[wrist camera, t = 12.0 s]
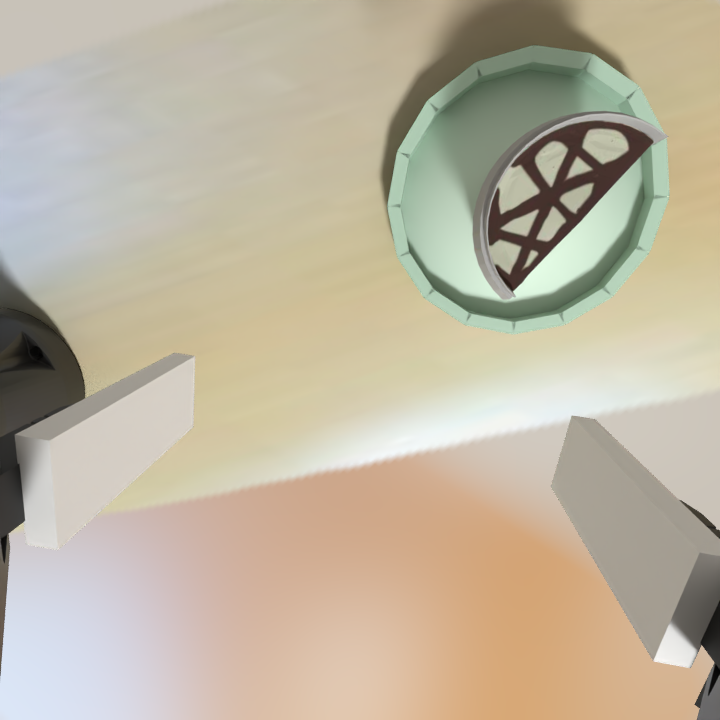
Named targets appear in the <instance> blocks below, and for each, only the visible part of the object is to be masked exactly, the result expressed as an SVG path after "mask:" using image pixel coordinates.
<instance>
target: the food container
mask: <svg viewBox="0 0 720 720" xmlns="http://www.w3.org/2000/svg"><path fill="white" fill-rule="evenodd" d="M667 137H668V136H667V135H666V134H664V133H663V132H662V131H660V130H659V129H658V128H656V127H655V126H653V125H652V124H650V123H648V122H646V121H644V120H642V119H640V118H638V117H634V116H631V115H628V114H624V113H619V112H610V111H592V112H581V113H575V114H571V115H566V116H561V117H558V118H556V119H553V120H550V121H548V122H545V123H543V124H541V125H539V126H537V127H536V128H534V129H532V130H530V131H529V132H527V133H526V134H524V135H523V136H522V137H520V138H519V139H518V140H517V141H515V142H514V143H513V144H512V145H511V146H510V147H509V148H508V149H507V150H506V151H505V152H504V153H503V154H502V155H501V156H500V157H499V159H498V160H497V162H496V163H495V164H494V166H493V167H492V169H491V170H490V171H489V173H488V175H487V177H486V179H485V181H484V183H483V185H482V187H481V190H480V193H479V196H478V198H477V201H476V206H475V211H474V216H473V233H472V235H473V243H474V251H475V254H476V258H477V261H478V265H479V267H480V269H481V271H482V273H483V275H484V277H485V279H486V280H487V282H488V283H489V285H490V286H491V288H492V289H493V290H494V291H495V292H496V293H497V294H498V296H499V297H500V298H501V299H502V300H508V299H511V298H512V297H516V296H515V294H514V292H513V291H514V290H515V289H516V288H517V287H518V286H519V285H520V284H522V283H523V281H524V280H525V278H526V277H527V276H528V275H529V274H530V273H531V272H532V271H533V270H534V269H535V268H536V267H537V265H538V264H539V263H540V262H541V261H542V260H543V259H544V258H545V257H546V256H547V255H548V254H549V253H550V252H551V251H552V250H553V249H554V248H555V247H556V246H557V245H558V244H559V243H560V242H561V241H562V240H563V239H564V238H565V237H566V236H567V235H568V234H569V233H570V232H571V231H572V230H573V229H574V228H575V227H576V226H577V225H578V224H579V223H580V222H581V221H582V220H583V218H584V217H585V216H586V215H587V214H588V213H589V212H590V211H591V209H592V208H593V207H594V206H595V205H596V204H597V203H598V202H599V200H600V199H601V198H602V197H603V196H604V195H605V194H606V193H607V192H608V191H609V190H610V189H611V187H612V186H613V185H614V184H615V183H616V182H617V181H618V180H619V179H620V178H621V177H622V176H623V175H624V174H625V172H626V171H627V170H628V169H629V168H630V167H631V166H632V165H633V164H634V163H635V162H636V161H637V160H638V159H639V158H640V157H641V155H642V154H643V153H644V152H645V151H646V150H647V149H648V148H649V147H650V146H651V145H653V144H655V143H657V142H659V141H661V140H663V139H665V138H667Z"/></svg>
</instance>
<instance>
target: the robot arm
mask: <svg viewBox="0 0 720 720" xmlns="http://www.w3.org/2000/svg"><path fill="white" fill-rule="evenodd" d="M194 380H195V356H191V355H185V354H179V353H173V354H171V355H169V356H167V357H165V358H163V359H161V360H159V361H157V362H155V363H153V364H151V365H149V366H148V367H146V368H144V369H142V370H140V371H138V372H136V373H134V374H132V375H130V376H128V377H126V378H124V379H122V380H120V381H118V382H116V383H114V384H112V385H110V386H109V387H107V388H105V389H103V390H101V391H99V392H97V393H95V394H93V395H91V396H89V397H87V398H85V394H84V384H83V379H82V375H81V372H80V369H79V367H78V364H77V362H76V360H75V358H74V356H73V355H72V353H71V351H70V350H69V348H68V347H67V346H66V344H65V343H64V342H63V341H62V339H61V338H60V337H59V336H58V335H57V334H56V333H55V332H54V331H53V330H52V329H50V328H49V327H48V326H47V325H45V324H44V323H42V322H41V321H39V320H38V319H36V318H34V317H32V316H30V315H28V314H25V313H23V312H20V311H16V310H12V309H4V308H0V674H1V659H2V647H3V646H2V645H3V633H4V620H5V606H6V593H7V580H8V566H9V552H10V543H9V534H8V533H10V532H11V531H12V530H14V529H15V528H16V527H18V526H19V525H20V524H22V523H23V522H24V531H25V540H26V544H27V545H32V546H38V547H43V548H48V549H53V550H59V549H60V548H61V547H62V546H63V545H64V544H65V543H67V542H68V541H69V540H70V539H71V538H72V537H73V536H74V535H75V534H76V533H78V532H79V531H80V530H81V529H82V528H83V527H84V526H85V525H86V524H87V523H89V522H90V521H91V520H92V519H93V518H94V517H95V516H96V515H97V514H98V513H99V512H101V511H102V510H103V509H104V508H105V507H106V506H107V505H108V504H109V503H110V502H112V501H113V500H114V499H115V498H116V497H117V496H118V495H119V494H120V493H121V492H122V491H124V490H125V489H126V488H127V487H128V486H129V485H130V484H131V483H132V482H133V481H135V480H136V479H137V478H138V477H139V476H140V475H141V474H142V473H143V472H144V471H145V470H147V469H148V468H149V467H150V466H151V465H152V464H153V463H154V462H155V461H156V460H158V459H159V458H160V457H161V456H162V455H163V454H164V453H165V452H166V451H167V450H169V449H170V448H171V447H172V446H173V445H174V444H175V443H176V442H177V441H178V440H179V439H181V438H182V437H183V436H184V435H185V434H186V433H187V432H188V431H189V430H190V429H192V428H193V419H194ZM84 398H85V399H84ZM551 487H552V489H553V491H554V493H555V494H556V496H557V498H558V500H559V501H560V503H561V505H562V506H563V508H564V510H565V512H566V513H567V515H568V516H569V518H570V520H571V522H572V523H573V525H574V527H575V529H576V530H577V532H578V534H579V535H580V537H581V539H582V540H583V542H584V544H585V545H586V547H587V549H588V551H589V552H590V554H591V556H592V557H593V559H594V561H595V563H596V564H597V566H598V568H599V569H600V571H601V573H602V574H603V576H604V578H605V580H606V581H607V583H608V585H609V587H610V588H611V590H612V592H613V593H614V595H615V597H616V599H617V600H618V601H619V604H620V605H621V607H622V609H623V610H624V612H625V614H626V616H627V617H628V619H629V621H630V622H631V624H632V625H633V628H634V629H635V631H636V633H637V634H638V636H639V638H640V639H641V641H642V643H643V644H644V646H645V648H646V650H647V651H648V653H649V655H650V656H651V658H652V660H653V661H656V662H660V663H666V664H671V665H677V666H682V667H688V668H691V667H692V664H693V662H694V660H695V658H696V656H697V654H698V652H699V649H700V647H701V645H702V646H703V647H704V648H705V650H706V651H707V653H708V654H709V655H710V657H711V658H712V659H713V661H714V662H715V663H714V665H713V667H712V669H711V672H710V674H709V676H708V678H707V680H706V682H705V684H704V686H703V688H702V690H701V692H700V694H699V696H698V699H697V701H696V703H695V705H696V706H697V707H699V708H700V710H699V714H698V718H697V720H720V530H717V529H716V527H715V526H714V525H713V524H712V523H711V522H710V521H709V520H708V519H707V518H706V517H705V516H704V515H702V514H701V513H700V512H698V511H697V510H695V509H693V508H692V507H690V506H689V505H687V504H686V503H684V502H683V501H681V500H678V499H677V498H676V497H675V496H674V495H673V494H672V493H671V492H670V491H669V490H668V489H667V488H666V487H665V486H664V485H663V484H662V483H661V482H660V481H659V480H658V479H657V478H656V477H654V476H653V475H652V474H651V473H650V472H649V471H648V470H647V469H646V468H645V467H644V466H643V465H642V464H641V463H640V462H639V461H638V460H637V459H636V458H635V457H634V456H633V455H632V454H631V453H630V452H629V451H627V450H626V449H625V448H624V447H623V446H622V445H621V444H620V443H619V442H618V441H617V440H616V439H615V438H614V437H613V436H612V435H611V434H610V433H609V432H608V431H607V430H606V429H605V428H604V427H602V426H601V425H600V424H599V423H598V422H597V421H596V420H595V419H590V418H584V417H578V416H572V417H571V420H570V424H569V427H568V431H567V434H566V437H565V440H564V444H563V447H562V451H561V454H560V457H559V461H558V464H557V468H556V471H555V474H554V478H553V481H552V485H551Z"/></svg>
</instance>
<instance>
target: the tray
mask: <svg viewBox="0 0 720 720" xmlns="http://www.w3.org/2000/svg"><path fill="white" fill-rule="evenodd" d="M638 87H639V86H638V85H637V84H635V83H634V82H633V81H631V80H630V79H628V78H627V77H625V76H624V75H623V74H621V73H620V72H618V71H617V70H616V69H614V68H613V67H611V66H610V65H608V64H607V63H606V62H604V61H603V60H601V59H600V58H598V57H597V56H596V55H594V54H592V53H587V52H580V51H573V50H566V49H559V48H552V47H545V46H538V45H534V46H533V45H532V46H528V47H525V48H522V49H518V50H515V51H511V52H508V53H505V54H501V55H498V56H494V57H491V58H488V59H484V60H481V61H477V62H476V63H474V64H472V65H471V66H470V67H469V68H467V69H466V70H465V71H464V72H462V73H461V74H460V75H459V76H457V77H456V78H455V79H454V80H452V81H451V82H450V83H448V84H447V85H446V86H445V87H443V88H442V89H441V90H440V91H438V92H437V93H436V94H435V95H433V96H432V97H431V98H430V99H428V101H427V102H426V104H425V105H424V107H423V109H422V110H421V112H420V114H419V115H418V117H417V119H416V120H415V122H414V124H413V125H412V127H411V129H410V130H409V132H408V134H407V135H406V137H405V139H404V141H403V142H402V144H401V146H400V147H399V149H398V152H397V155H396V160H395V166H394V171H393V177H392V182H391V188H390V193H389V199H388V205H387V206H388V207H387V208H388V213H389V218H390V223H391V228H392V233H393V238H394V244H395V249H396V254H397V257H398V259H399V261H400V262H401V264H402V265H403V267H404V268H405V270H406V271H407V273H408V274H409V276H410V277H411V279H412V280H413V282H414V283H415V285H416V286H417V288H418V289H419V291H420V293H421V294H422V296H423V297H424V298H425V299H426V300H428V301H429V302H431V303H432V304H434V305H435V306H437V307H438V308H440V309H441V310H443V311H444V312H446V313H447V314H449V315H450V316H452V317H453V318H455V319H456V320H458V321H459V322H461V323H462V324H464V325H467V326H472V327H477V328H483V329H488V330H493V331H498V332H503V333H508V334H519V333H524V332H529V331H535V330H540V329H546V328H551V327H557V326H562V325H564V324H565V325H566V324H567V323H569V322H571V321H572V320H574V319H576V318H578V317H579V316H581V315H583V314H584V313H586V312H588V311H590V310H591V309H593V308H595V307H596V306H598V305H600V304H601V303H603V302H605V301H607V300H608V299H610V298H612V296H614V295H615V293H616V292H617V291H618V290H619V289H620V287H621V286H622V285H623V284H624V283H625V281H626V280H627V279H628V278H629V277H630V275H631V274H632V273H633V272H634V271H635V269H636V268H637V267H638V266H639V265H640V263H641V262H642V261H643V260H644V259H645V257H646V256H647V255H648V254H649V252H650V250H651V247H652V245H653V242H654V239H655V236H656V233H657V231H658V228H659V225H660V222H661V219H662V216H663V214H664V211H665V208H666V205H667V202H668V200H669V197H668V196H669V175H668V154H667V138H666V139H663V140H661V141H659V142H657V143H655V144H653V145H651V146H650V147H649V148H648V149H647V150H646V151H645V152H644V153H643V154H642V155H641V157H640V158H639V159H638V160H637V161H636V162H635V163H634V164H633V165H632V166H631V167H630V168H629V169H628V170H627V171H626V172H625V174H624V175H623V176H622V177H621V178H620V179H619V180H618V181H617V182H616V183H615V184H614V185H613V186H612V187H611V189H610V190H609V191H608V192H607V193H606V194H605V195H604V196H603V197H602V198H601V199H600V200H599V202H598V203H597V204H596V205H595V206H594V207H593V208H592V209H591V211H590V212H589V213H588V214H587V215H586V216H585V217H584V218H583V220H582V221H581V222H580V223H579V224H578V225H577V226H576V227H575V228H574V229H573V230H572V231H571V232H570V233H569V234H568V235H567V236H566V237H565V238H564V239H563V240H562V241H561V242H560V243H559V244H558V245H557V246H556V247H555V248H554V249H553V250H552V251H551V252H550V253H549V254H548V255H547V256H546V257H545V258H544V259H543V260H542V261H541V262H540V263H539V264H538V265H537V267H536V268H535V269H534V270H533V271H532V272H531V273H530V274H529V275H528V276H527V277H526V278H525V280H524V281H523V283H522V284H520V285H519V286H518V287H517V288H516V289H515V290H514V291H513V292H514V294H515V296H516V297H512V298H511V299H508V300H502V299H501V298H500V297H499V296H498V294H497V293H496V292H495V291H494V290H493V289H492V288H491V286H490V285H489V283H488V282H487V280H486V279H485V277H484V275H483V273H482V271H481V269H480V267H479V265H478V261H477V258H476V254H475V251H474V243H473V235H472V233H473V216H474V211H475V206H476V201H477V198H478V196H479V193H480V190H481V187H482V185H483V183H484V181H485V179H486V177H487V175H488V173H489V171H490V170H491V169H492V167H493V166H494V164H495V163H496V162H497V160H498V159H499V157H500V156H501V155H502V154H503V153H504V152H505V151H506V150H507V149H508V148H509V147H510V146H511V145H512V144H513V143H514V142H515V141H517V140H518V139H519V138H520V137H522V136H523V135H524V134H526V133H527V132H529V131H530V130H532V129H534V128H536V127H537V126H539V125H541V124H543V123H545V122H548V121H550V120H553V119H556V118H558V117H561V116H566V115H571V114H575V113H581V112H592V111H610V112H619V113H624V114H628V115H631V116H634V117H638V118H640V119H642V120H644V121H646V122H648V123H650V124H652V125H653V126H655V127H656V128H658V129H659V130H660V131H662V132H663V130H662V128H661V126H660V124H659V122H658V120H657V118H656V116H655V114H654V113H653V111H652V109H651V107H650V105H649V103H648V101H647V99H646V97H645V95H644V94H643V92H642V90H641V88H638ZM663 133H664V132H663Z"/></svg>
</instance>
